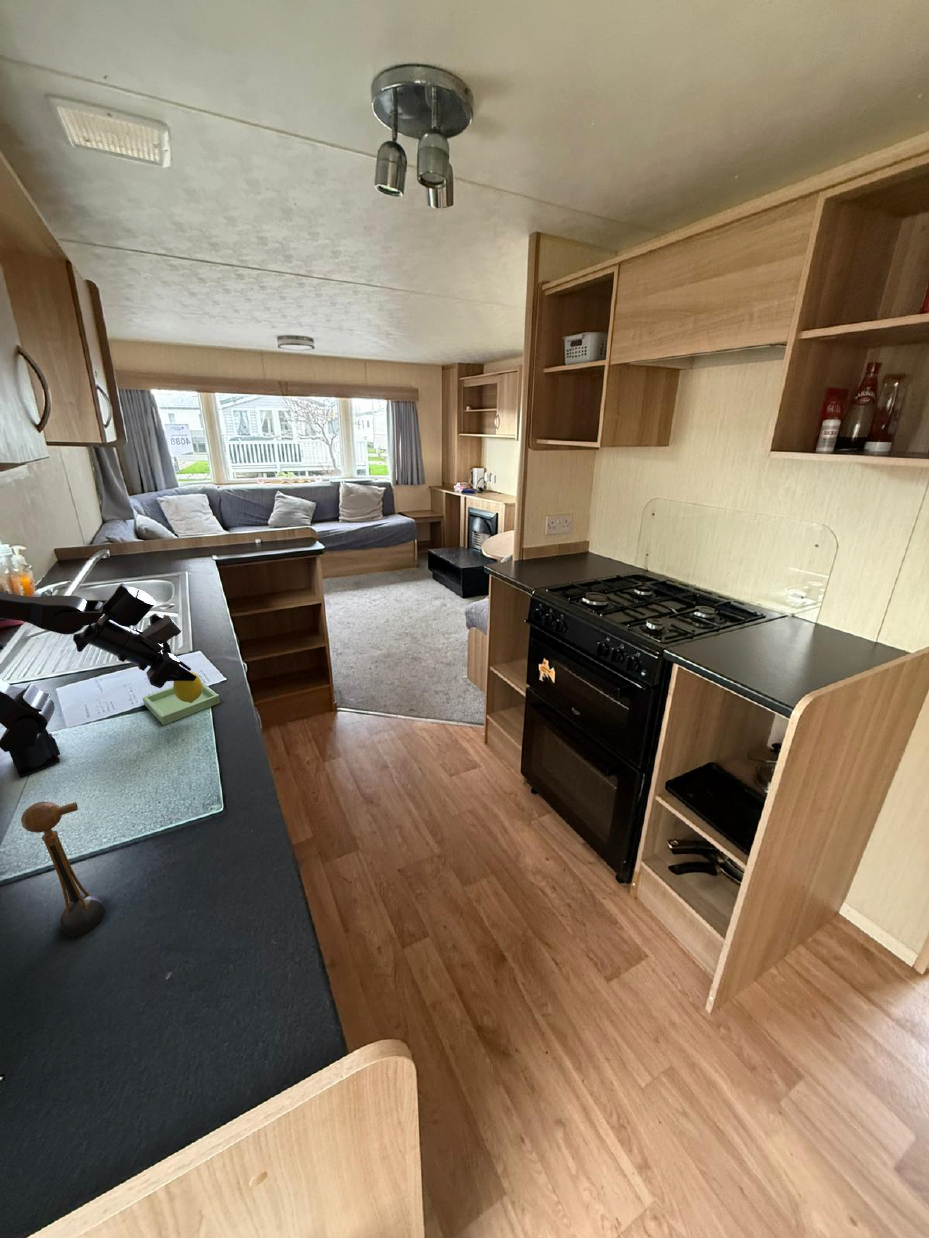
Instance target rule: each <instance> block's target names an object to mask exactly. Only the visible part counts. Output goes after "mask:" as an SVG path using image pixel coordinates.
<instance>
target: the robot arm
mask: <svg viewBox="0 0 929 1238" xmlns="http://www.w3.org/2000/svg"><path fill="white" fill-rule="evenodd" d="M156 604H157V602H156V600H155V599H154V598H153V597H152V596H151V595H150V594H149V593H147V592H146V591H144V590H142V589H140V588H139V589H138V588H136V587H134V586H131V585H130V586H128V585H127V584H125V583H122V582H121V583H120V584H119V585H118V586H117V588H116V589H115V591H114V593H112V595H111V596H110V597H109V598H108V599H84V598H83V597H80V596H77V595H59V594H57V595H56V594H55V595H52V594H51V595H42V596H27V595H20V594H14V593H8V592H1V591H0V619H3V620H11V621H19V622H23V623H28V624H30V625H33V626H34V627H37V628H38V629H41V630H45V631H48V632H52V633H56V634H58V635H64V636H65V635H66V636H67V635H73V636H72V641H73V642H74V644H75V646H76V651H77V653H81V652H83V650H85V648H86V647H87V646H88V645H91V646H93V647H95V648H98V649H100V650H101V651H104V652H107V653H109V654H111V655H113V656H116V657H117V660H118V661H121V662H123V663H125V661H127V662H129V663H131V664H132V665H133V664H134V665H135V666H137V668H138V669H139V670H140V671H142V672H144V671H145V670H146V669H147V668H148V667H149V668H148V669H147V671H146V673H145V674H146V678H147V680H148V682H149V684H150V686H152V687H154V688H157V689H162V688H163V687H164V686H165V684H166V683H168V682H174V681H194V680H195V679H196V678H197V677H196V676H195V675H194V674H193V673H191V672H190V671H192V668H191V667H190V666H189V665H188V664H186V663H185V662H184V661H182V660H181V659H180V658H179V657H178V655H177V654H176V653H173V652H172V649H171V646H170V644H169V642H168V641H169V640H171V639H173V638H174V637H177V636H178V635H180V634H181V633H182V630H181V628H180V627H179V625H178V624H177V623H176V622H175V621H174V620H173V619H172V617H170V615H166V614H163V615H161V614H158V613H153V614H152V615H150V616H149V617H148V619H149V624H148V625H147V627H146V628H145V629H143V630H141V629H140V628H133V629H131V628H130V627H136V626H138V624H139V623H140V622H141V621H142V620H143V619H144V618H145V617H146V616H147V614H148V613H149V612H150V611H151V610H152V609H153V608H154V607H155V605H156ZM85 627H86V628H85ZM84 628H85V629H84ZM83 629H84V630H83ZM81 630H83V631H81ZM80 631H81V632H80ZM78 632H79V633H78ZM50 697H51V693H46V692H44V691H43V690H41V689H39V687H37V685H35V684H33V683H29V684H28V685H27V686H26V687H25V688H24V687H19V686H15V685H11V684H9V683H8V682H6V681H4V680H3V679H1V678H0V725H2V726H3V727H4V728H5V731H4V732H3V734H2V735H1V737H0V749H1V750H2V751H3V752H4V753H9V755H10V757H11V760H12V765H13V767H14V769H15V772H16V774H17V777H18V778H23V777H25V776H28V775H30V774H33V773H35V772H39V771H41V770H43V769H46V768H49V767H51V766H54V765H56V764H59V763H61V759H60V755H61V752H60V749H59V746H58V744H57V741H56V738H55V736H54V734H53V733H51V732H50V733H49V732H48V730H47V727H48V725H49V723H50V722H51V719H52V717H53V716H54V715H53V714H54V713H55V709H56V708H55V707H56V706H55V702H54V700H53V699H52V698H50Z"/></svg>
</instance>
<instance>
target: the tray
mask: <svg viewBox="0 0 929 1238" xmlns="http://www.w3.org/2000/svg"><path fill="white" fill-rule="evenodd" d="M202 687H203V688H202V693H201V695H200V697H199V698H198V699H196V700H194V702H193V703H189V702H184V701H181V700H180V699H178V698H177V696H176V695H175V692H174V688H173V686H172V687H168V688H166V689H163V690H160V691H156V692H154V693H151V694H148V695H145V696H143V697H142V702H143V705H144V707H146V708H147V710H149V711H150V713H151V714H152V715H153V716H154V717H155V718H156V719H157V720H158V721H159V722H160V723H161V724H162V725H163V726H165V725H168V724H170V723H173V722H175V721H178V720H180V719H183V718H185V717H188V716H190V715H194V714H196V713H198V712H201V711H203V710H206V709H208V708H211V707H214V706H215V705H219V704H221V701H220V696H219V694H218V693H216V692H215V691H214V690H212V689H211V688H210V687H209V686H208V685H206V684H205V683H204V682H202Z"/></svg>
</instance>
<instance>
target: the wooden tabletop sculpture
mask: <svg viewBox="0 0 929 1238" xmlns="http://www.w3.org/2000/svg"><path fill="white" fill-rule="evenodd" d="M78 810H79V807H78V802H77V801H74V802H71V803H68V804H65V805H62V806H59V804H57V803H55V802H53V801H38V802H35V803H33V804H31V805H30V806H29V807H28V808H26V809H25V810H24V811H23V812H22V815H21V817H20V823H21V826H22V828H23V829H24V830H26V831H27V832H31V833H35V834H40V833H43V834H42V836H41V841H43V842H44V845H45V848H46V850H47V852H48V855H49V857H50V859H51V861H52V864H53V866H54V870H55V872H56V874H57V877H58V880H59V883H60V887H61V890H62V894H63V899H64V904H65V908H64V910H63V912H62V914H61V916H60V926H61V929H62V931H63V933H64V935H65V936H68V937H69V936H70V937H77V936H80V935H82V934H85V933H88V932H90V931H91V930H93V929H94V928H95V927H96V926H97V925H98V924H99V923H100V922H102V920H103V919H104V915H105V914H106V912H107V910H106V907H105V905H104V904H103V903H102V901H101V900H100V898H99V897H98V896H96V895H91V894H89V892H87V890H86V889H85V888H84V887H83V885H82V884H81V881H80V880H79V879H78V877H77V875H76V873H75V872H74V870H73V867H72V866H71V863H70V862H69V859H68V856H67V854H66V852H65V849H64V847H63V845H62V842H61V840H60V837H59V833H58V831H57V830H53V828H55V827H56V826H57V825H58V824H59V823H60V821H61V820H62V817H63V816H65V815H68V814H70V813H73V812H77V811H78ZM80 891H81V892H82V893H83V894H84V895H82V894H81V892H80Z"/></svg>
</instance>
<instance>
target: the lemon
mask: <svg viewBox="0 0 929 1238" xmlns="http://www.w3.org/2000/svg"><path fill="white" fill-rule="evenodd" d="M190 672H191V673H193V674H194V675H195V676H196V677H197V678H196V679H195V680H194V681H173V684H172V687H173V688H174V692H175V695H176V696H177V698H178V699H180V700H181V701H184V702H189V703H193V702H194V700H196V699H198V698H199V697H200V695H201V693H202V688H203V687H202V683H203V682H202V679H201V677H200V676H199V675H198V673H196V672H194V671H192V670H190Z"/></svg>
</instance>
